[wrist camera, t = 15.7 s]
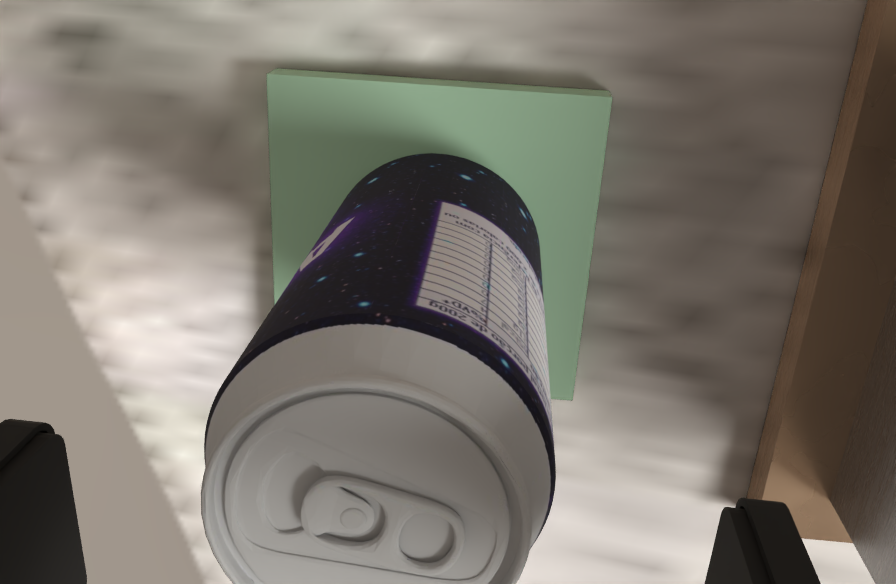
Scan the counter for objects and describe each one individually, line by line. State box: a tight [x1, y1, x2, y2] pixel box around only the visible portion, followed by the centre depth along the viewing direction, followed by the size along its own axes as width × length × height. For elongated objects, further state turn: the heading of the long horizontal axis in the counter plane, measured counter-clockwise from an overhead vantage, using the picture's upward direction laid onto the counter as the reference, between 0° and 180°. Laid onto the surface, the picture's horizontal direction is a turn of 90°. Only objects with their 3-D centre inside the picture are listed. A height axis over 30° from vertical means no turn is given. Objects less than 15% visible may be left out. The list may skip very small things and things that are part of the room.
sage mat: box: [267, 68, 612, 401], centre depth 23 cm, size 9×9×1 cm
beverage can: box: [201, 153, 556, 584], centre depth 17 cm, size 6×6×12 cm
